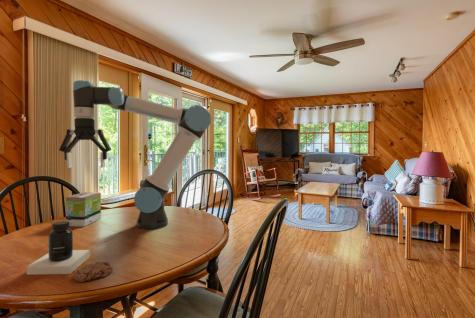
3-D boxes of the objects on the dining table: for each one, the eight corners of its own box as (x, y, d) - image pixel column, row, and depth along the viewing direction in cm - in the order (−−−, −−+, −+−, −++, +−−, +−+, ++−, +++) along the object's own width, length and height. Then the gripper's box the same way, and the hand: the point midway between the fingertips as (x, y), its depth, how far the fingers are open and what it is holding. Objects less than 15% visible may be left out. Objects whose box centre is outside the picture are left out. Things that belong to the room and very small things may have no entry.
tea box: (85, 227, 132) (84, 197, 131) (65, 226, 132) (64, 196, 131) (101, 218, 147) (101, 191, 146) (83, 218, 147) (82, 191, 146)
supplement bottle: (54, 263, 86) (53, 226, 85) (44, 258, 90) (43, 223, 89) (77, 256, 92) (76, 221, 91) (66, 252, 95) (66, 218, 95)
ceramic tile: (90, 256, 98) (89, 249, 98) (69, 273, 85) (69, 266, 85) (52, 257, 97) (52, 250, 97) (26, 274, 84) (26, 266, 84)
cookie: (66, 280, 81) (66, 270, 81) (96, 265, 91) (96, 257, 91) (90, 286, 78) (90, 276, 78) (118, 270, 88) (118, 261, 88)
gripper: (48, 117, 110) (50, 168, 112) (111, 117, 113) (113, 167, 114) (58, 118, 118) (60, 167, 119) (117, 119, 121) (119, 166, 122)
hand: (86, 167), depth 117 cm, fingers open, 13 cm apart
